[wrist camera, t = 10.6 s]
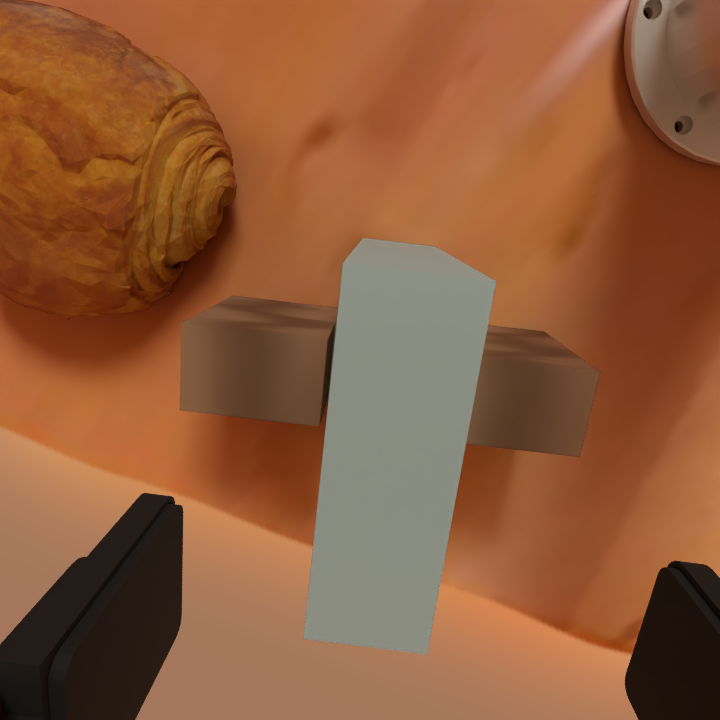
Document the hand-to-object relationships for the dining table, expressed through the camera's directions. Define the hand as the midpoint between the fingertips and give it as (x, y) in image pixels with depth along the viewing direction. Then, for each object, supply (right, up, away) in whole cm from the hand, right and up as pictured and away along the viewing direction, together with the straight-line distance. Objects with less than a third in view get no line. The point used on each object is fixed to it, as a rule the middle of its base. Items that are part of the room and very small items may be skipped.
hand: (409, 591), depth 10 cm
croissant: (-16, +15, +19) cm, 29 cm away
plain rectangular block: (+1, +5, +20) cm, 21 cm away
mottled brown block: (0, +5, +20) cm, 21 cm away
